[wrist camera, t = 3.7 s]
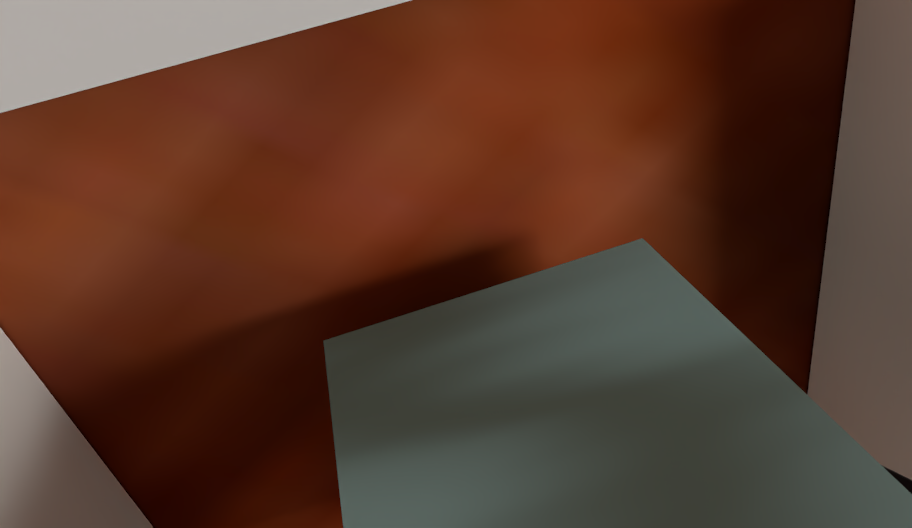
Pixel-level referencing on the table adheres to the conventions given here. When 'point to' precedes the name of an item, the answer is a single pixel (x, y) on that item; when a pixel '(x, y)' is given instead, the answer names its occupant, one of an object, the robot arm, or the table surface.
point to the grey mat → (137, 37)
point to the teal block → (588, 414)
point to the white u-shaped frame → (835, 342)
